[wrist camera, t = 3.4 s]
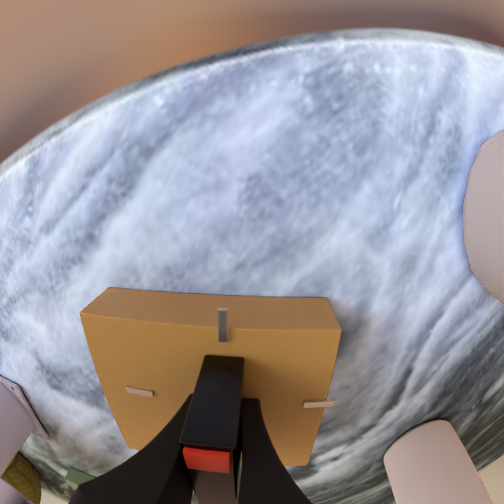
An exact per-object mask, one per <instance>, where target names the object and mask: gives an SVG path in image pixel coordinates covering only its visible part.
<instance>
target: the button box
mask: <svg viewBox="0 0 504 504" xmlns="http://www.w3.org/2000/svg"><path fill="white" fill-rule="evenodd" d="M94 478H96V477H93V476H91V475H88V474H86V473H83V472H81V471H78V470H76V469H74V468H70V469H69V471H68V473H67V475H66V477H65V480H66V481H67V482H68V483H69V484H70V485H71V486H72V488H73V489H74V490H76V489H77V487H78V486H79V484H82V483H84V482H87V481H89V480H92V479H94Z"/></svg>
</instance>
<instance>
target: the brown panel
mask: <svg viewBox="0 0 504 504" xmlns="http://www.w3.org/2000/svg"><path fill="white" fill-rule="evenodd" d="M80 317H81V321H82V325H83V328H84V332H85V336H86V339H87V343H88V346H89V350H90V353H91V356H92V359H93V362H94V365H95V368H96V371H97V374H98V377H99V380H100V383H101V385H102V388H103V391H104V393H105V396H106V399H107V401H108V404H109V406H110V408H111V411H112V413H113V416H114V418H115V420H116V422H117V425H118V427H119V429H120V431H121V433H122V435H123V438H124V440H125V442H126V444H127V446H128V447H129V448H132V449H136V450H141V449H142V448H144V447H145V446H146V445H147V444H148V443H149V442H150V441H151V440H152V439H153V438H154V437H155V436H156V435H157V434H158V433H159V432H160V431H161V430H162V429H163V428H164V427H165V426H166V425H167V423H168V422H169V421H170V420H171V419H172V417H173V416H174V415H175V414H176V412H177V411H178V410H179V409H180V407H181V406H182V404H183V403H184V402H185V400H186V399H187V397H188V395H189V394H191V393H192V394H193V392H194V389H195V385H196V382H197V379H198V376H199V372H200V369H201V366H202V362H203V359H204V356H205V355H216V356H231V357H244V359H245V383H244V398H258V399H259V400H260V405H261V411H262V416H263V419H264V423H265V426H266V429H267V431H268V434H269V437H270V439H271V441H272V444H273V446H274V448H275V450H276V452H277V454H278V456H279V458H280V460H281V462H282V463H283V465H284V466H304V465H307V464H308V461H309V458H310V455H311V452H312V448H313V445H314V442H315V439H316V435H317V432H318V429H319V425H320V422H321V418H322V414H323V411H324V407H332V406H334V403H335V400H334V399H330V400H326V399H327V395H328V391H329V387H330V383H331V379H332V375H333V370H334V366H335V361H336V356H337V352H338V347H339V342H340V337H341V331H342V329H341V327H340V325H339V323H338V320H337V318H336V316H335V314H334V312H333V310H332V307H331V305H330V303H329V301H328V299H327V298H312V297H260V296H232V295H210V294H191V293H175V292H160V291H146V290H134V289H122V288H111V287H109V288H108V289H106V290H105V291H104V292H103V293H102V294H100V295H99V296H98V297H97V298H96V299H95V300H93V301H92V302H91V303H90V304H89V305H88V306H86V307H85V308H84V309H83V310H82V311H81V312H80Z"/></svg>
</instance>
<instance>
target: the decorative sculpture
mask: <svg viewBox="0 0 504 504" xmlns="http://www.w3.org/2000/svg"><path fill="white" fill-rule="evenodd" d="M0 478H2V479H3V480H4V481H6V482H7V483H8V484H10V485H11V486H12V487H14V488H15V489H16V490H18V491H19V492H20V493H21V494H22V495H23V496H25V498H26V499H28V500H29V501H31V502H32V503H34V504H40V500H41V484H40V479H39V475H38V473H37V471H36V470H35V469H34V467H33V466H32V465H31V464H30V463H29V462H28V461H27V460H26V459H25V458H24V457H23V456H22V455H21V454H19V453H18V452H17V454H16V455H15V456H14V458H13V459H12V461H11V462H10V464H9V465H8V467H7V468H6V470H5V471H4V473H3V474H2V476H1V477H0Z"/></svg>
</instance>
